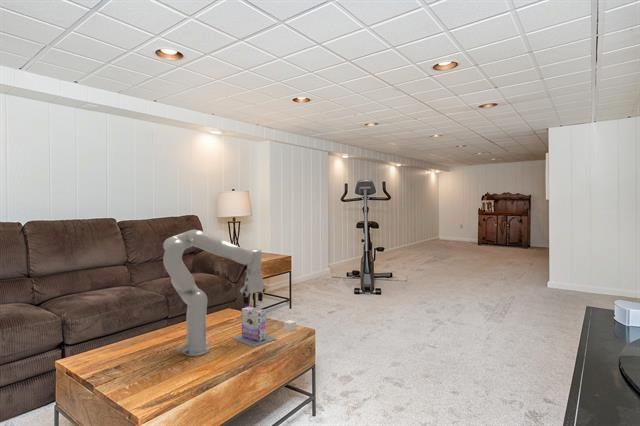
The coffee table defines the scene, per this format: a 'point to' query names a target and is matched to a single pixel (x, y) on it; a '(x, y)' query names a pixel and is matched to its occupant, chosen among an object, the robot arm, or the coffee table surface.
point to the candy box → (254, 323)
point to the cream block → (290, 325)
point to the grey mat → (252, 342)
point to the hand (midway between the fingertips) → (253, 302)
